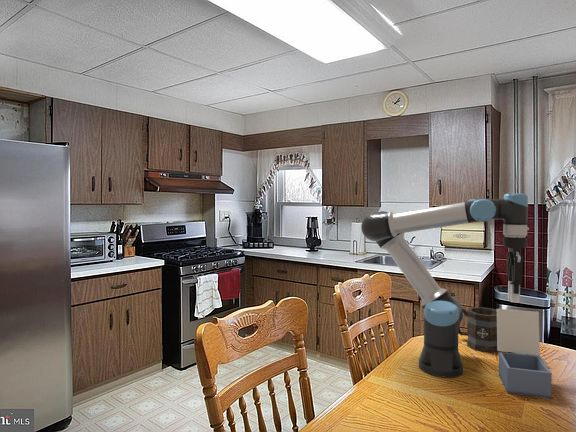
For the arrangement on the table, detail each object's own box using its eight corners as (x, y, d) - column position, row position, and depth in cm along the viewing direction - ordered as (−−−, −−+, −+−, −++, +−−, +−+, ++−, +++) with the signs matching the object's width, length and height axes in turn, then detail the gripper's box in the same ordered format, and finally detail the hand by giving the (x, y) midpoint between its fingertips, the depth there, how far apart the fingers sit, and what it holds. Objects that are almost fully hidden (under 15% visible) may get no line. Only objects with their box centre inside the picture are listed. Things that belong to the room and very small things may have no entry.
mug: (508, 348, 162) (509, 312, 161) (491, 355, 154) (492, 318, 154) (464, 335, 178) (464, 302, 178) (446, 341, 170) (446, 307, 170)
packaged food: (528, 355, 155) (528, 343, 154) (547, 368, 143) (547, 355, 143) (505, 355, 155) (506, 343, 155) (522, 368, 143) (522, 355, 143)
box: (507, 393, 124) (507, 368, 124) (498, 374, 138) (498, 351, 137) (551, 398, 121) (551, 373, 120) (537, 379, 134) (538, 356, 134)
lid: (497, 308, 139) (496, 308, 140) (497, 350, 137) (497, 350, 138) (538, 311, 135) (538, 311, 136) (539, 355, 133) (539, 354, 134)
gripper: (533, 238, 132) (532, 307, 133) (521, 234, 148) (519, 296, 149) (508, 238, 135) (507, 305, 136) (498, 234, 151) (497, 294, 152)
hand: (513, 300), depth 142 cm, fingers open, 4 cm apart
